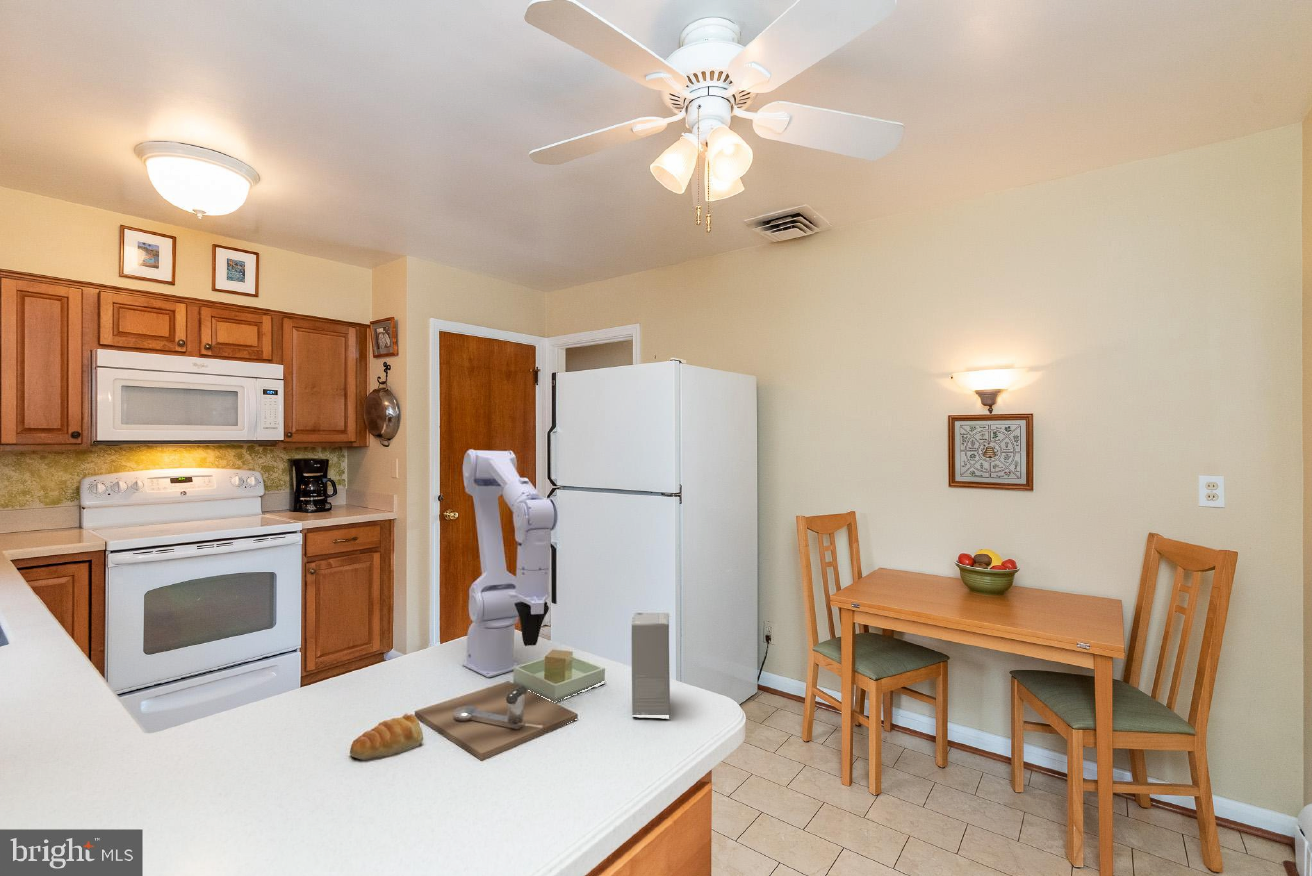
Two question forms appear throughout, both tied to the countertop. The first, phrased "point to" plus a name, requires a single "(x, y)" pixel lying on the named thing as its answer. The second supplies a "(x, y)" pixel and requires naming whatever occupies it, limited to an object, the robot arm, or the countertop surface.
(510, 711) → the crank
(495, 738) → the crank plate
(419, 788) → the countertop surface
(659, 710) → the skincare box
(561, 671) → the block
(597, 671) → the tray
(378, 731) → the pastry
